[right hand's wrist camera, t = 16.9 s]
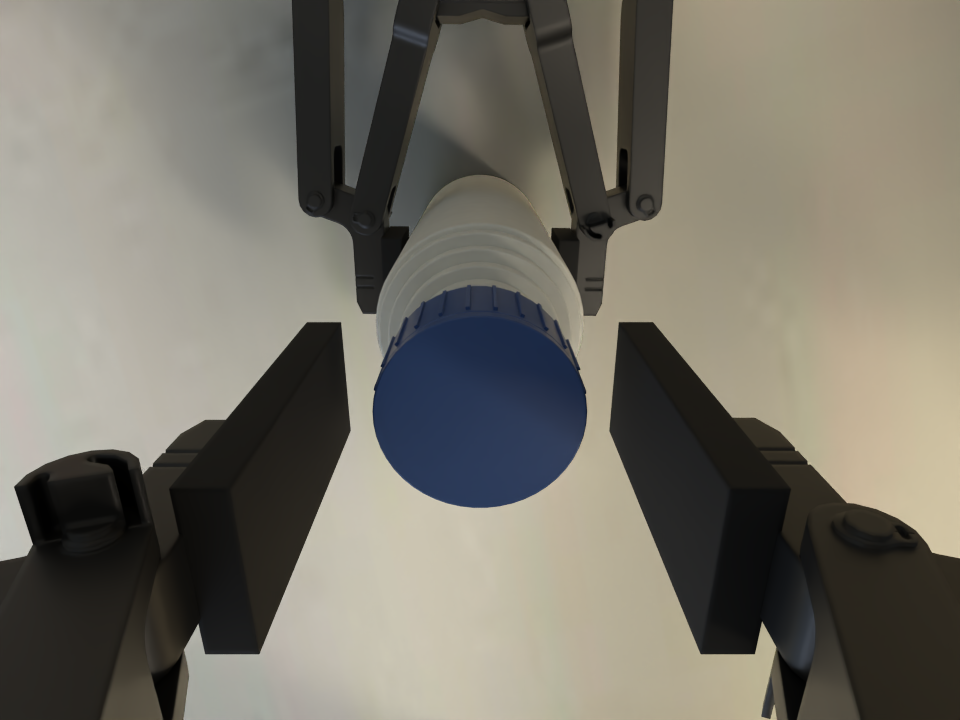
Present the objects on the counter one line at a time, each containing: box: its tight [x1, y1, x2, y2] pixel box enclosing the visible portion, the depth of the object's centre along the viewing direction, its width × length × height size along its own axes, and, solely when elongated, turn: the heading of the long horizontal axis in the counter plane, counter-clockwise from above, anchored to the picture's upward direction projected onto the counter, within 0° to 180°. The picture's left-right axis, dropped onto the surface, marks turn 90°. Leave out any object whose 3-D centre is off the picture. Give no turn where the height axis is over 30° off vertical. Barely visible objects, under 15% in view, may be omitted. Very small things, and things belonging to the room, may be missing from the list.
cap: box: [373, 285, 587, 508], centre depth 13 cm, size 4×4×2 cm
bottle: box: [376, 175, 584, 358], centre depth 22 cm, size 6×6×20 cm
